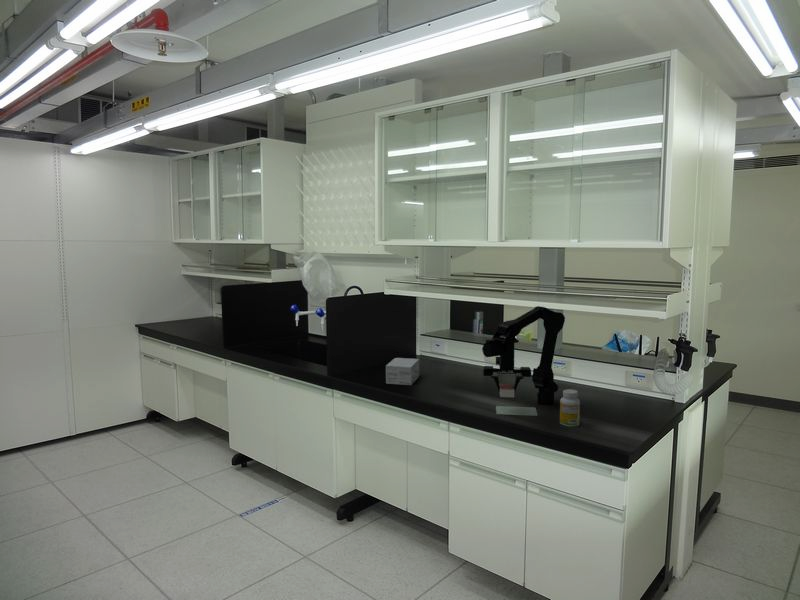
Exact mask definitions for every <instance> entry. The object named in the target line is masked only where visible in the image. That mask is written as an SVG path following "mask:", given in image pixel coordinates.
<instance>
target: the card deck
mask: <svg viewBox="0 0 800 600" xmlns="http://www.w3.org/2000/svg"><path fill="white" fill-rule="evenodd" d="M499 386H500V392H499V397H500V398H515V393H514V383H499Z"/></svg>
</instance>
